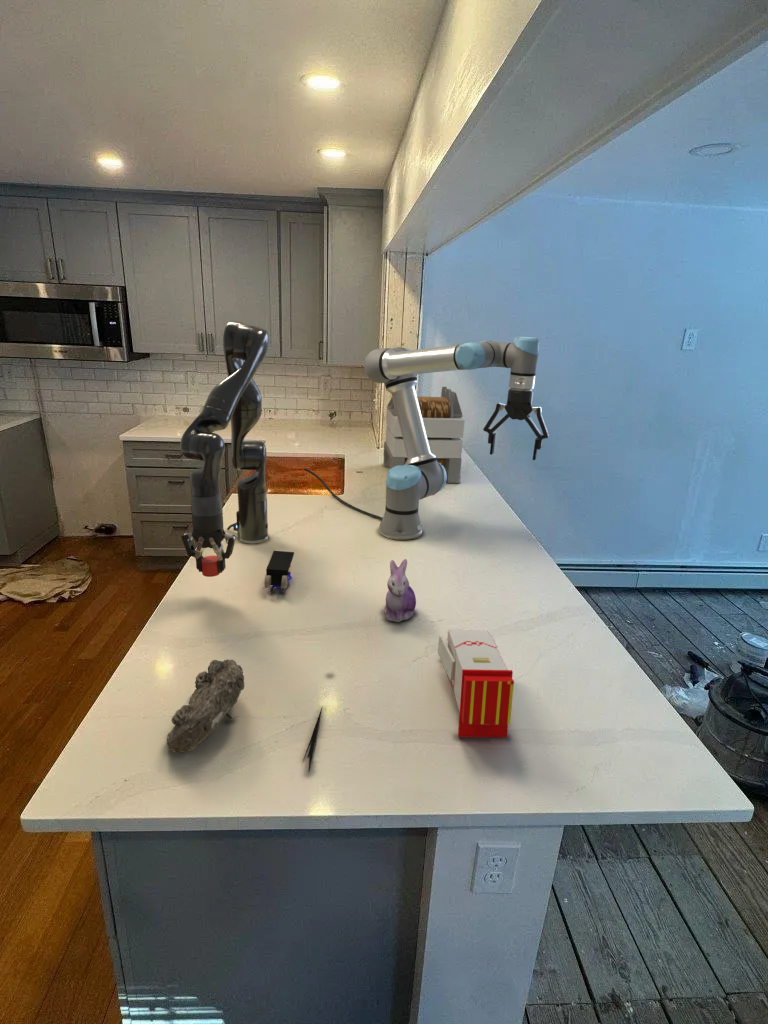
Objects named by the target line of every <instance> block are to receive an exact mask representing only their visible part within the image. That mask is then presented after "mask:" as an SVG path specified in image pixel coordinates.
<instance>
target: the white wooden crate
mask: <svg viewBox="0 0 768 1024" xmlns="http://www.w3.org/2000/svg"><path fill="white" fill-rule="evenodd" d="M440 393H441V394H440V396H417V399H418V403H419V407H420V411H421V415H422V419H423V424H424V428H425V432H426V436H427V440H428V444H429V448H430V452H431V453H432V454H434V455H435V456H436V458H437V462H439V463H440V464H441V465H442V466H443V467H444V468H445V470H446V474H447V480H446V483H449V484H455V483H456V484H459V483H461V472H462V461H463V460H462V453H463V442H464V441H463V440H462V439H463V438H464V431H465V430H464V429H465V419H464V418H463V411H462V408H461V405H460V402H459V398H458V395H457V392H455V391H453V390H452V389H451V388H447V386H442V387H441V392H440ZM385 414H386V415H385V423H386V428H385V438H384V442H383V466H384V467H388V468H389V470H390V469H391V468H393V467H395V466H398V465H401V466H402V465H405V463H406V461H407V459H408V457H407V453H406V449H405V445H404V442H403V438H402V434H401V430H400V426H399V422H398V418H397V414H396V410H395V406H394V402H393V398H392V397H391V398H390V400H389V402H388V404H387V405H386V413H385Z"/></svg>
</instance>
